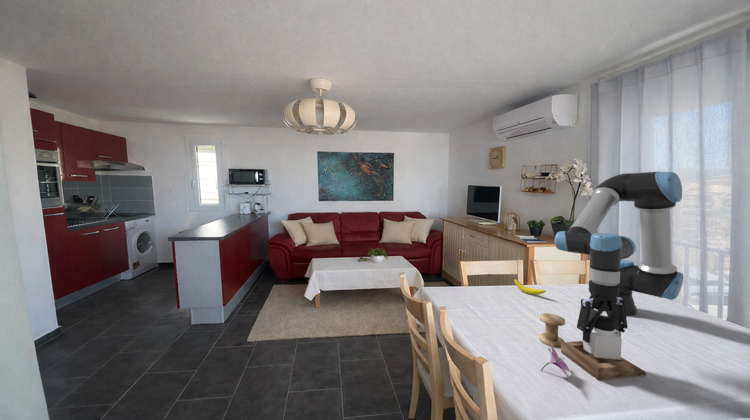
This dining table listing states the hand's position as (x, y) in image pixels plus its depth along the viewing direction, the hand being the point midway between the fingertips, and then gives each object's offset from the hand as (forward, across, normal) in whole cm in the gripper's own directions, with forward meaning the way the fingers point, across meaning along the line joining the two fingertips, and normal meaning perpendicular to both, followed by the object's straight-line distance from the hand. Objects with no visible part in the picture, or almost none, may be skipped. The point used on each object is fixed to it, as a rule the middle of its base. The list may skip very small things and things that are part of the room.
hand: (601, 350), depth 89 cm
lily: (+5, +18, +3) cm, 19 cm away
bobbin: (+4, +6, -14) cm, 16 cm away
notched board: (+4, 0, 0) cm, 4 cm away
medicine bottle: (+1, 0, 0) cm, 1 cm away
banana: (+5, -17, -59) cm, 62 cm away
